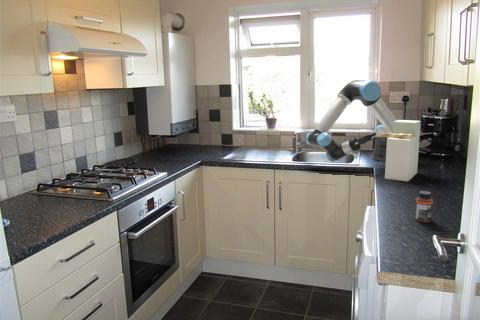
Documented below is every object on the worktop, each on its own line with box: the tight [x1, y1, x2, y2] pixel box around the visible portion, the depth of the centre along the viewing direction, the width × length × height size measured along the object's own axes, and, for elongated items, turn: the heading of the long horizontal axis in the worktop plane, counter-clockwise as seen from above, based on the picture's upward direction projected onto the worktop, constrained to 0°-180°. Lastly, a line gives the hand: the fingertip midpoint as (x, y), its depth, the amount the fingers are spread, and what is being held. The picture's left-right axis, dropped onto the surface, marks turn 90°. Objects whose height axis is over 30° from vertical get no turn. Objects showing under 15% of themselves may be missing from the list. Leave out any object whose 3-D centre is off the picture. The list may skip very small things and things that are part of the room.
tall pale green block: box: [384, 119, 421, 182], centre depth 226 cm, size 12×22×30 cm, turn 146°
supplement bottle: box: [414, 190, 434, 224], centre depth 157 cm, size 6×6×11 cm
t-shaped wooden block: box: [376, 133, 413, 139], centre depth 222 cm, size 19×6×2 cm, turn 56°
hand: (385, 129), depth 224 cm, fingers open, 13 cm apart
